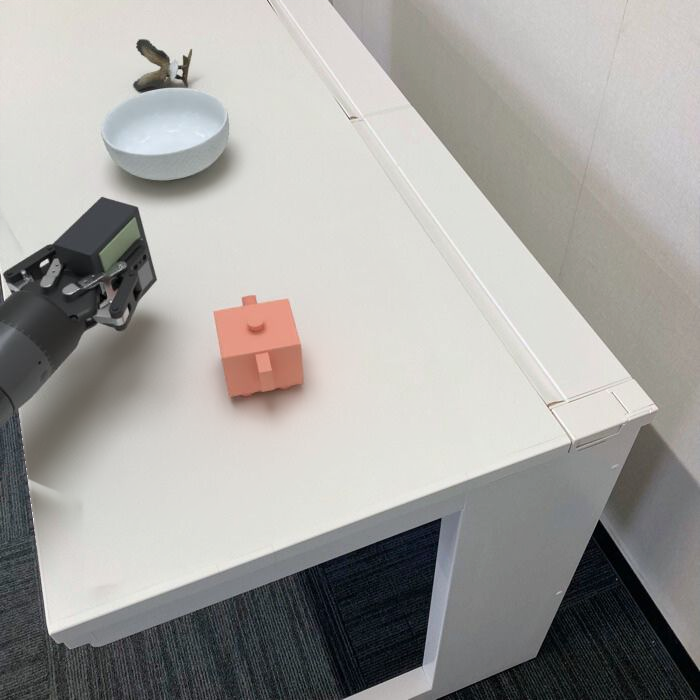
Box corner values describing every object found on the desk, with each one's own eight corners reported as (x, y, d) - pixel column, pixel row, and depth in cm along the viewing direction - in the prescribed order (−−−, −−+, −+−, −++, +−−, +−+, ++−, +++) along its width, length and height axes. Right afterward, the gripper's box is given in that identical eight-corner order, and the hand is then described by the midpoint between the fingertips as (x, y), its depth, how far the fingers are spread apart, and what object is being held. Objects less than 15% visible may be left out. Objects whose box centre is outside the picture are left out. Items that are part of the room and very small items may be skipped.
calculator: (80, 317, 81) (52, 243, 73) (123, 269, 86) (101, 196, 78) (116, 329, 80) (92, 256, 72) (158, 280, 85) (139, 207, 77)
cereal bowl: (202, 117, 116) (194, 74, 111) (255, 172, 107) (249, 127, 102) (94, 154, 110) (81, 109, 105) (140, 215, 101) (128, 169, 95)
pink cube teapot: (287, 323, 87) (281, 269, 81) (308, 404, 80) (304, 351, 74) (218, 335, 86) (208, 281, 80) (233, 419, 78) (222, 366, 72)
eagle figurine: (194, 62, 125) (138, 51, 124) (191, 38, 118) (131, 26, 117) (186, 105, 124) (129, 94, 123) (182, 84, 117) (122, 73, 116)
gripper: (67, 348, 65) (175, 228, 75) (-65, 301, 69) (55, 193, 79) (90, 403, 70) (187, 284, 81) (-34, 357, 74) (74, 249, 85)
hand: (121, 240), depth 80 cm, fingers closed on calculator, 4 cm apart
